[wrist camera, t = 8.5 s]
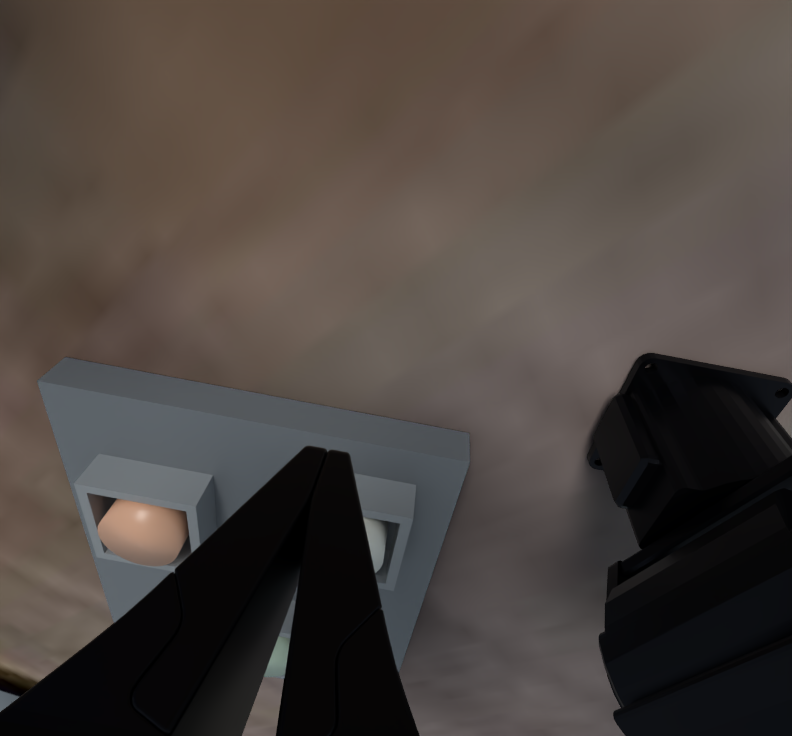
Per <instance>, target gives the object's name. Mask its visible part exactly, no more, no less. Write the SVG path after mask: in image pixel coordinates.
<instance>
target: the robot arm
mask: <svg viewBox="0 0 792 736" xmlns="http://www.w3.org/2000/svg"><path fill="white" fill-rule="evenodd" d="M650 363H654V365H653V366H652V367H650V368H645V367H646V366H647V365H648V364H650ZM781 388H783V389H782V390H781V391H778V392H776V391H777V390H779V389H781ZM791 398H792V383H791V382H790V381H789V380H788V379H786V378H782V377H777V376H772V375H767V374H761V373H756V372H751V371H745V370H740V369H735V368H729V367H724V366H719V365H714V364H708V363H703V362H698V361H692V360H687V359H682V358H676V357H671V356H666V355H661V354H655V353H647V354H644V355H642V356H641V357H639V358H638V360H637V361H636V363H635V365H634V367H633V369H632V370H631V372H630V374H629V376H628V378H627V380H626V382H625V384H624V386H623V388H622V390H621V392H620V393H619V394H617V395H616V396H615V397H614V398H613V400H612V402H611V403H610V405H609V407H608V409H607V411H606V413H605V415H604V417H603V419H602V421H601V423H600V425H599V427H598V429H597V431H596V433H595V435H594V443H593V445H592V447H591V449H590V451H589V453H588V456H587V458H588V461H589V464H590V466H591V467H592V468H594V469H598V470H603V471H604V472H605V475H606V478H607V481H608V484H609V487H610V490H611V493H612V496H613V500H614V502H615V503H616V505H617V506H618V507H620V508H625V509H626V510H627V513H628V516H629V519H630V522H631V525H632V528H633V531H634V534H635V536H636V539H637V542H638V545H639V547H640V548H641V549H642V550H640V551H639V552H637V553H635V554H634V555H632V556H631V557H629V558H628V559H626V560H624V561H623V562H622V561H618V562H616V563H614V564H613V565H611V566H610V567H608V579H607V599H606V603H605V631H604V632H603V633H601V634H600V635H599V647H600V651H601V655H602V659H603V663H604V666H605V669H606V672H607V676H608V679H609V682H610V685H611V687H612V690H613V693H614V695H615V697H616V699H617V701H618V703H619V705H620V707H621V708H620V709H618V710H615V711H614V713H613V716H614V720H615V722H616V723H617V725H618V726H619V728H620V729H621V730H622V732H623V733H624V734H625V736H792V438H791V437H790V436H789V434H788V433H787V432H786V431H785V430H784V428H783V427H782V426H781V425H780V423H779V422H778V421H777V420H776V418H777V416H778V415H779V414H780V412H781V411H782V410H783V409H784V407H785V406H786V405H787V403H788V402H789V401H790V400H791ZM598 458H600V460H596V459H598ZM297 586H298V588H297ZM296 588H297V595H296V602H295V609H294V615H293V622H292V629H291V636H290V643H289V650H288V657H287V663H286V670H285V677H284V684H283V691H282V698H281V705H280V711H279V718H278V725H277V732H276V736H419V733H418V730H417V727H416V724H415V721H414V719H413V716H412V713H411V710H410V707H409V704H408V701H407V698H406V695H405V692H404V689H403V686H402V682H401V679H400V676H399V673H398V670H397V666H396V663H395V659H394V655H393V651H392V647H391V643H390V639H389V635H388V631H387V626H386V621H385V617H384V612H383V610H382V604H381V599H380V594H379V589H378V585H377V580H376V575H375V570H374V566H373V561H372V556H371V551H370V547H369V542H368V537H367V533H366V528H365V523H364V518H363V514H362V509H361V504H360V499H359V495H358V490H357V485H356V480H355V476H354V471H353V466H352V461H351V457H350V454H349V453H348V452H343V451H338V450H332V449H331V450H329V451H328V452H327V450H326V449H325V448H321V447H315V446H310V445H308V446H305V447H304V448H303V449H302V450H301V451H300V452H299V453H298V454H296V455H295V456H294V457H293V458H292V459H291V460H290V461H289V462H288V463H287V464H286V465H285V466H284V467H283V468H282V469H280V470H279V471H278V472H277V473H276V474H275V475H274V476H273V477H272V478H271V479H270V480H269V481H268V482H267V483H266V484H265V485H263V486H262V487H261V488H260V489H259V490H258V491H257V492H256V493H255V494H254V495H253V496H252V497H251V498H250V499H249V500H247V501H246V502H245V503H244V504H243V505H242V506H241V507H240V508H239V509H238V510H237V511H236V512H235V513H234V514H233V515H232V516H230V517H229V518H228V519H227V520H226V521H225V522H224V523H223V524H222V525H221V526H220V527H219V528H218V529H217V530H216V531H215V532H213V533H212V534H211V535H210V536H209V537H208V538H207V539H206V540H205V541H204V542H203V543H202V544H201V545H200V546H199V547H197V548H196V549H195V550H194V551H193V552H192V553H191V554H190V555H189V556H188V557H187V558H186V559H185V560H184V561H183V562H182V563H180V564H179V565H178V566H177V567H176V568H175V573H174V572H171V573H169V574H168V575H167V576H166V577H165V578H164V579H163V580H162V581H161V582H160V583H159V584H158V585H157V586H156V587H155V588H154V589H153V590H151V591H150V592H149V593H148V594H147V595H146V596H145V597H144V598H143V599H141V600H140V601H139V602H138V603H137V604H136V605H135V606H134V607H132V608H131V609H130V610H129V611H128V612H127V613H126V614H125V615H123V616H122V617H121V618H120V619H118V620H117V621H116V622H115V623H113V624H112V625H111V626H110V627H108V628H107V629H106V630H105V631H104V632H102V633H101V634H100V635H99V636H97V637H96V638H95V639H94V640H92V641H91V642H90V643H89V644H87V645H86V646H85V647H83V648H82V649H81V650H80V651H78V652H77V653H76V654H74V655H73V656H72V657H71V658H69V659H68V660H67V661H65V662H64V663H63V664H62V665H60V666H59V667H58V668H56V669H55V670H54V671H53V672H51V673H50V674H49V675H47V676H46V677H45V678H44V679H42V680H41V681H40V682H38V683H37V684H36V685H35V686H33V687H32V688H31V689H29V690H28V691H27V692H26V693H24V694H23V695H22V696H20V697H19V698H18V699H17V700H15V701H14V702H13V703H11V704H10V705H9V706H8V707H6V708H5V709H4V710H2V711H1V712H0V736H242V733H243V731H244V728H245V725H246V723H247V720H248V717H249V715H250V712H251V709H252V706H253V704H254V701H255V698H256V696H257V693H258V690H259V688H260V685H261V682H262V680H263V677H264V674H265V672H266V669H267V666H268V663H269V661H270V658H271V655H272V653H273V650H274V647H275V645H276V642H277V639H278V637H279V634H280V631H281V629H282V626H283V623H284V621H285V618H286V615H287V612H288V610H289V607H290V604H291V602H292V599H293V596H294V594H295V591H296Z"/></svg>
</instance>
